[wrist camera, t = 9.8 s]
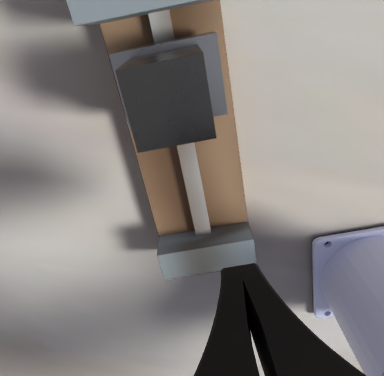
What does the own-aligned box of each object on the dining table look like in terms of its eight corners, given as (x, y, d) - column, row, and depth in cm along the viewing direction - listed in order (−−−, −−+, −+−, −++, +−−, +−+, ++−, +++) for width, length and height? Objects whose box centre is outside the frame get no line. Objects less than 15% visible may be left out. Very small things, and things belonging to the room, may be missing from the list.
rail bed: (200, -126, 15) (205, -159, 12) (247, 235, 24) (256, 264, 21) (71, -96, 15) (47, -122, 12) (166, 249, 24) (164, 280, 21)
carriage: (213, 31, 16) (229, 37, 11) (223, 105, 18) (241, 141, 12) (115, 50, 16) (85, 66, 11) (135, 122, 18) (116, 164, 13)
